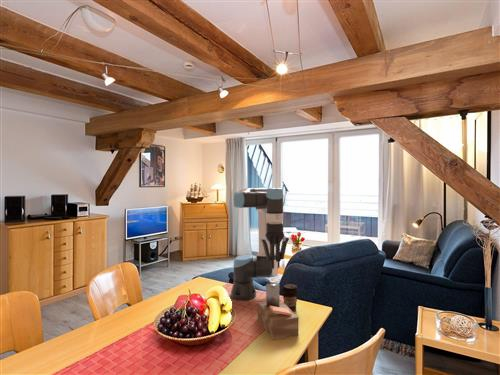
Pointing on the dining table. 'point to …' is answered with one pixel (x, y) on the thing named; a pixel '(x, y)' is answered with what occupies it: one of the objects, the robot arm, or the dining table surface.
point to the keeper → (280, 310)
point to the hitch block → (278, 321)
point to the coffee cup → (290, 296)
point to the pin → (272, 294)
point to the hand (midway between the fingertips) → (275, 275)
